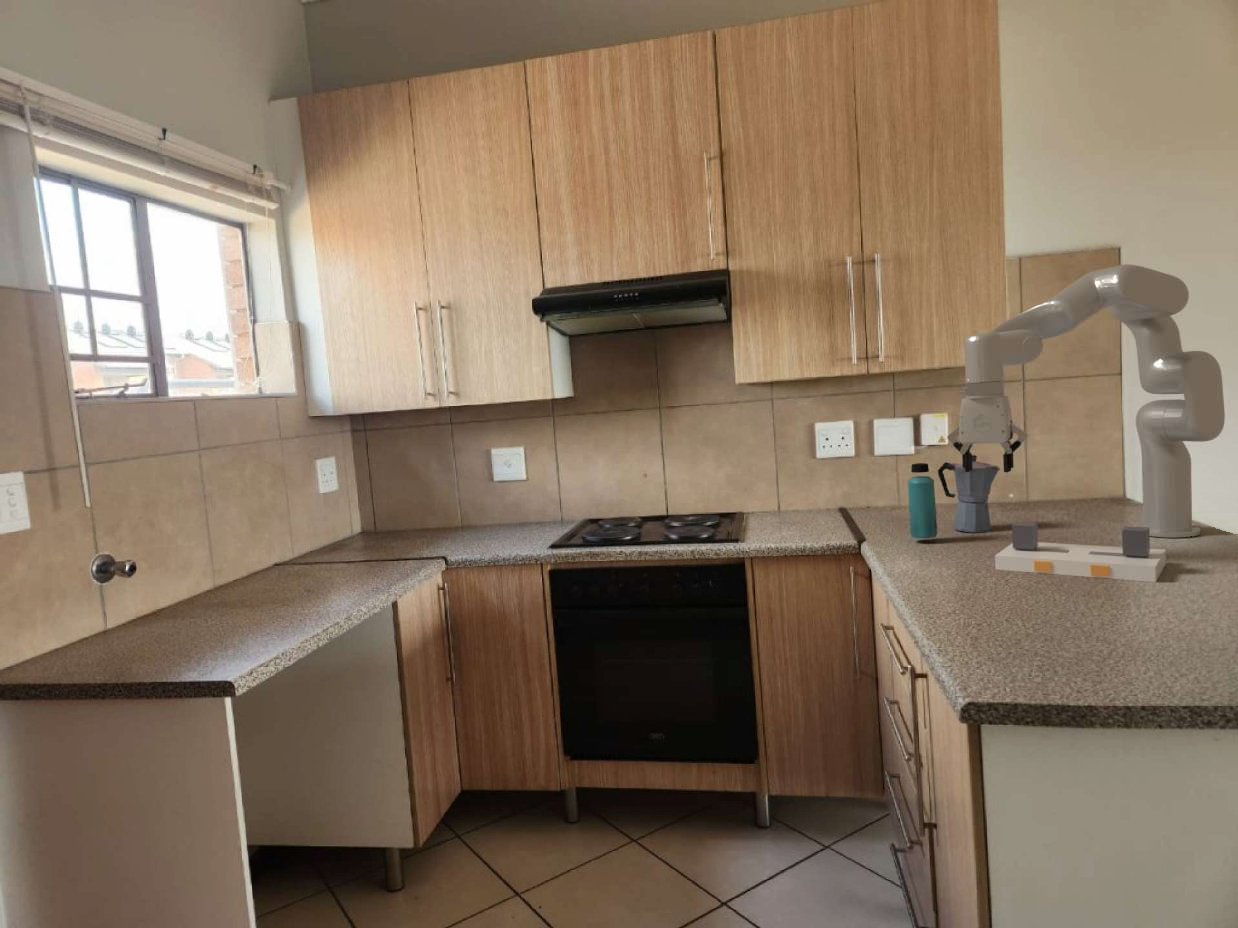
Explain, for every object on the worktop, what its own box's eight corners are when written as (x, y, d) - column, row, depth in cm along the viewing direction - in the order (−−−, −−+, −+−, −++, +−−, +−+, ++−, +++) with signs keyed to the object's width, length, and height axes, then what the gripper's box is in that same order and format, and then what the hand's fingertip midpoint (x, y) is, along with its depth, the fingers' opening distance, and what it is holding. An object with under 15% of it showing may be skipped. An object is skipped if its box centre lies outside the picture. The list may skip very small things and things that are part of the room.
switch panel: (1015, 553, 176) (1015, 540, 176) (1166, 563, 158) (1165, 548, 157) (995, 569, 164) (994, 554, 164) (1155, 582, 145) (1155, 565, 145)
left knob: (1017, 544, 170) (1016, 521, 169) (1038, 545, 167) (1037, 522, 167) (1012, 548, 167) (1012, 525, 166) (1033, 549, 164) (1032, 526, 164)
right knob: (1125, 550, 157) (1125, 526, 156) (1149, 552, 154) (1149, 527, 154) (1122, 554, 154) (1122, 530, 153) (1146, 556, 151) (1146, 531, 151)
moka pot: (1001, 534, 198) (998, 456, 196) (936, 532, 206) (933, 457, 204) (1005, 527, 206) (1002, 452, 204) (942, 526, 214) (939, 454, 212)
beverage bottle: (940, 543, 192) (936, 463, 191) (912, 544, 194) (908, 465, 192) (935, 538, 199) (931, 461, 197) (907, 539, 200) (904, 462, 198)
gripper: (937, 394, 172) (941, 473, 173) (1024, 388, 160) (1027, 474, 162) (949, 392, 177) (952, 469, 179) (1033, 387, 166) (1036, 469, 167)
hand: (987, 471), depth 170 cm, fingers open, 7 cm apart
